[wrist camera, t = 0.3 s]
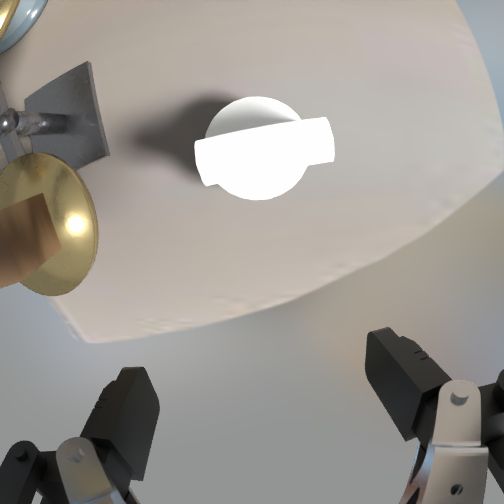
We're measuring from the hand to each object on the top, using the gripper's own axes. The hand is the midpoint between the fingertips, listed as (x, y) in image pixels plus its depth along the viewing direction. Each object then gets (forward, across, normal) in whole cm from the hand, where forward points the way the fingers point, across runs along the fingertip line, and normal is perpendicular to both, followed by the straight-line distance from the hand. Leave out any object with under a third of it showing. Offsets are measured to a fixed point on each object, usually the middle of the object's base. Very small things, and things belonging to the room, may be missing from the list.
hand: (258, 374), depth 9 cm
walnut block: (+12, +18, -6) cm, 22 cm away
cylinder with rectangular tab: (+22, -3, -10) cm, 24 cm away
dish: (+18, +28, -40) cm, 52 cm away
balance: (+21, +18, -17) cm, 33 cm away
